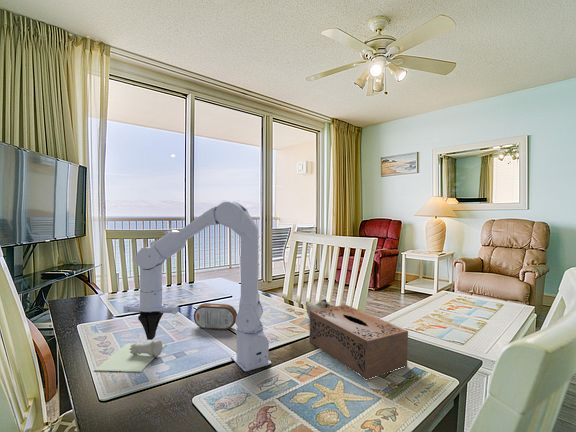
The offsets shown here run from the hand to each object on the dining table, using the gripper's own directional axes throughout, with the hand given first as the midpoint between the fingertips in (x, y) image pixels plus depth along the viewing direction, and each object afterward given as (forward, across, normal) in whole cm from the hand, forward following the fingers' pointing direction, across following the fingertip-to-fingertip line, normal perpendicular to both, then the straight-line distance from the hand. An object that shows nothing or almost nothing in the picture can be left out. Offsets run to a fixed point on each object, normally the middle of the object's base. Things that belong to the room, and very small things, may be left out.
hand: (151, 338), depth 89 cm
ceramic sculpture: (+6, -51, -31) cm, 60 cm away
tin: (+6, -12, -22) cm, 26 cm away
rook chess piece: (+3, -2, 0) cm, 4 cm away
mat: (+5, +5, 0) cm, 7 cm away
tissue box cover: (+6, -57, -6) cm, 58 cm away
